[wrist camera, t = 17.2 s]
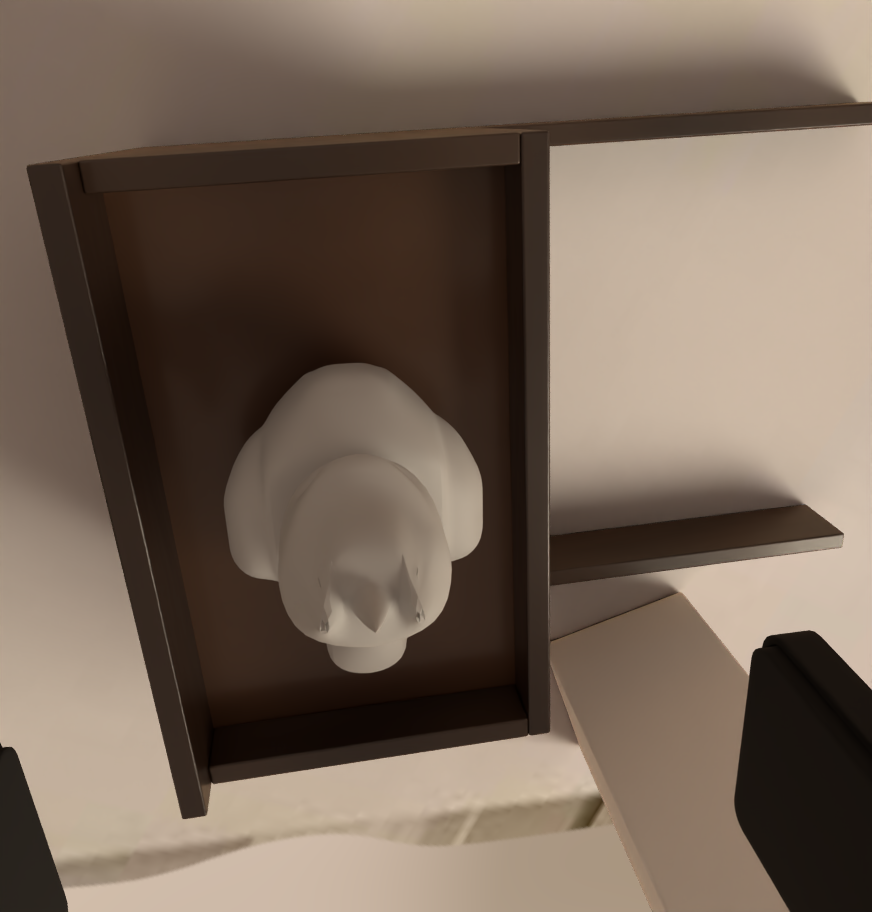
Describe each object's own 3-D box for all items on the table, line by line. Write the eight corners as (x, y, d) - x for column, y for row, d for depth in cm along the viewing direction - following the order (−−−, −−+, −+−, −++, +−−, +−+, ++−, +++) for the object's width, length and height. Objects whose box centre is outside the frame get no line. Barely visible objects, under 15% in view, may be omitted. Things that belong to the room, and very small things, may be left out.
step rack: (860, 102, 26) (1188, 90, 16) (803, 517, 32) (1020, 688, 22) (139, 147, 23) (24, 165, 14) (222, 590, 29) (182, 820, 20)
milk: (680, 588, 32) (1317, 1360, 12) (709, 699, 35) (1278, 1495, 15) (538, 644, 32) (940, 1512, 12) (577, 751, 35) (966, 1622, 14)
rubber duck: (459, 332, 19) (561, 469, 11) (463, 579, 21) (548, 822, 14) (218, 347, 18) (159, 504, 11) (252, 601, 20) (224, 869, 13)
